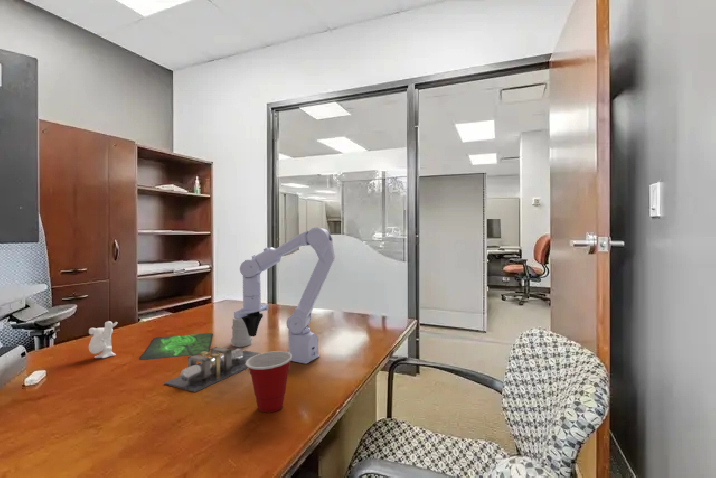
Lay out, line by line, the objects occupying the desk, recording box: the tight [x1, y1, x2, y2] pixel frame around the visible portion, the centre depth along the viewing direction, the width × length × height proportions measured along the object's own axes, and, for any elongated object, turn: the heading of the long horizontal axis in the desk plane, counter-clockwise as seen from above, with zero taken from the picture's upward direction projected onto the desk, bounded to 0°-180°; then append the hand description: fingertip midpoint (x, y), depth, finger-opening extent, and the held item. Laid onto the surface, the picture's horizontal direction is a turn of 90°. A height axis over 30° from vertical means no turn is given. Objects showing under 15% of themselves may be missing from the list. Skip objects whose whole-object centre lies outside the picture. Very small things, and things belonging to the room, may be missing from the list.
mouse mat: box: [138, 332, 214, 361], centre depth 137 cm, size 27×22×1 cm
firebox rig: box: [163, 346, 262, 393], centre depth 113 cm, size 12×31×6 cm, turn 154°
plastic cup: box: [245, 350, 292, 414], centre depth 88 cm, size 11×11×12 cm
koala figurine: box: [88, 320, 118, 359], centre depth 124 cm, size 8×7×12 cm
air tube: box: [180, 347, 244, 381], centre depth 110 cm, size 20×3×4 cm, turn 154°
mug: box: [230, 317, 253, 348], centre depth 141 cm, size 8×12×12 cm, turn 15°
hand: (252, 335), depth 124 cm, fingers closed
